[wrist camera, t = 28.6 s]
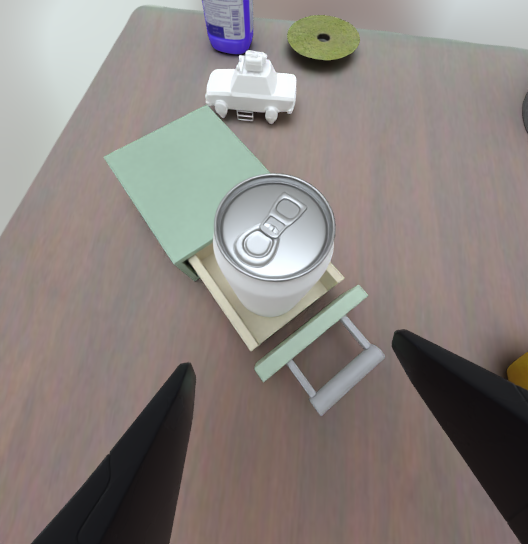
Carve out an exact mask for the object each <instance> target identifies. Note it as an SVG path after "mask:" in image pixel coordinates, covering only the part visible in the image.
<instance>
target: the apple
mask: <svg viewBox="0 0 528 544" xmlns="http://www.w3.org/2000/svg"><path fill="white" fill-rule="evenodd" d="M507 376H508V381H510V382H512V383H514V384H515V385H518V386H520V387H522V388H524V389H526V390H528V352H527V353H525V354H524V355H522V356H521V357H519V358H518V359H517V360H516V361H514V362H513V363H512V364H511V365H510V366H509V368H508V369H507Z"/></svg>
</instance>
